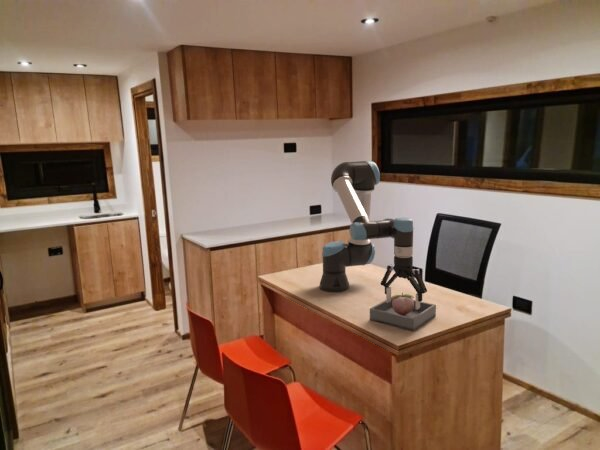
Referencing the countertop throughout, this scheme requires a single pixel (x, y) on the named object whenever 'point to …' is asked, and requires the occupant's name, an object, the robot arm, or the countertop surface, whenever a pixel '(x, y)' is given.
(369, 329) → the countertop surface
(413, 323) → the bin
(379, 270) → the countertop surface
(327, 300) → the countertop surface
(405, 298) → the decorative fruit
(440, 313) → the countertop surface
